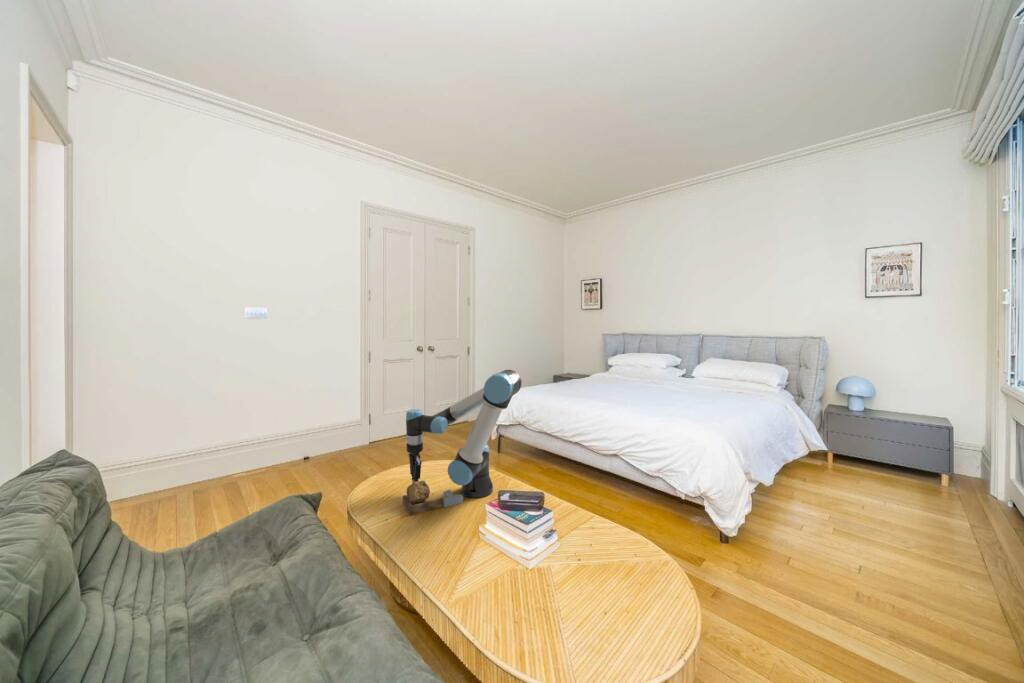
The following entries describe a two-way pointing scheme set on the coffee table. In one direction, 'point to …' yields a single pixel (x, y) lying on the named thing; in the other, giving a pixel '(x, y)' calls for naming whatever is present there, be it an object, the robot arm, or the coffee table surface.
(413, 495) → the rock
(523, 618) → the coffee table surface
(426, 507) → the brown l-shaped block
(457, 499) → the t block
